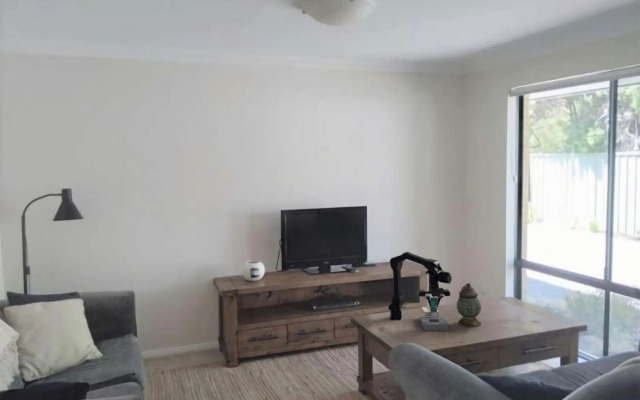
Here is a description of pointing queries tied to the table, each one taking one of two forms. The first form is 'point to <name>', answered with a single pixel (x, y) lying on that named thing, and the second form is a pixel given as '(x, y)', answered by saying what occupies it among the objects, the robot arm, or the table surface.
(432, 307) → the teal peg
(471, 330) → the table surface
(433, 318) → the socket block
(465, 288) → the lidded ginger jar
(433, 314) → the sliding lid
